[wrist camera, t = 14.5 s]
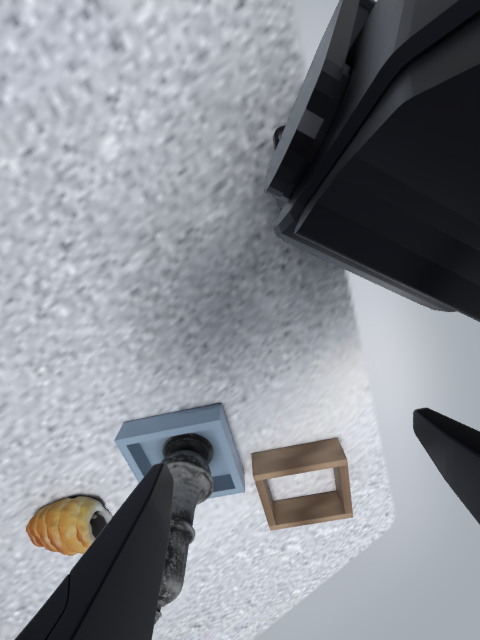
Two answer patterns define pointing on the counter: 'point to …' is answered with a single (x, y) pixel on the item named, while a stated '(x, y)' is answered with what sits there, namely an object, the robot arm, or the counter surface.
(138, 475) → the slate tray
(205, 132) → the counter surface
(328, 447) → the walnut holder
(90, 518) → the pastry
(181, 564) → the grey stone chess piece
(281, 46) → the counter surface
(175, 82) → the counter surface
